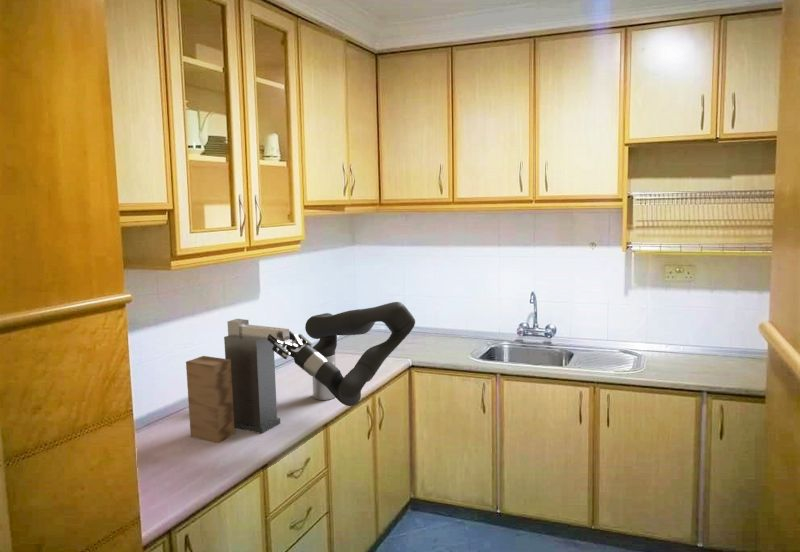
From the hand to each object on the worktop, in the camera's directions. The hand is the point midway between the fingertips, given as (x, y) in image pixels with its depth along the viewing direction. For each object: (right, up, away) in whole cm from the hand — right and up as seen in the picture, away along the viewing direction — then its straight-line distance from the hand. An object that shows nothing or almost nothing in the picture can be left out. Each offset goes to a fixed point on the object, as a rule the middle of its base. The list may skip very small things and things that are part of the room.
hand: (276, 333), depth 211 cm
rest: (-22, -35, +1) cm, 41 cm away
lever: (-7, -2, +4) cm, 8 cm away
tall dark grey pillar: (-10, -33, +10) cm, 36 cm away
